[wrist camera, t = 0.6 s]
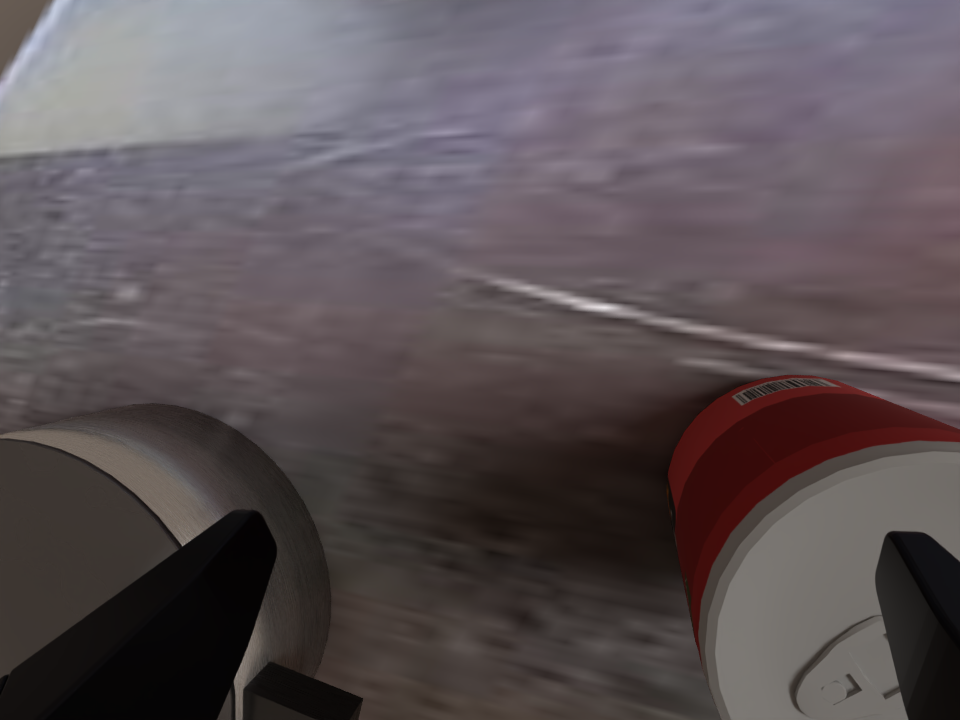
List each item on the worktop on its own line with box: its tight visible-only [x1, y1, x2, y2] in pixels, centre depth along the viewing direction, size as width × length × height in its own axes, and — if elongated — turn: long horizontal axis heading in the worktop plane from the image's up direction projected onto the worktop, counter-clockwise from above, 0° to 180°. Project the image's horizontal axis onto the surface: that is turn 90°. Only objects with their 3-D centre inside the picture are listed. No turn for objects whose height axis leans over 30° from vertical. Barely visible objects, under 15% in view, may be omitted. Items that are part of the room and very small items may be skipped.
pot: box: [0, 403, 363, 720], centre depth 25 cm, size 23×16×7 cm
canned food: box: [667, 375, 960, 720], centre depth 17 cm, size 8×8×11 cm
